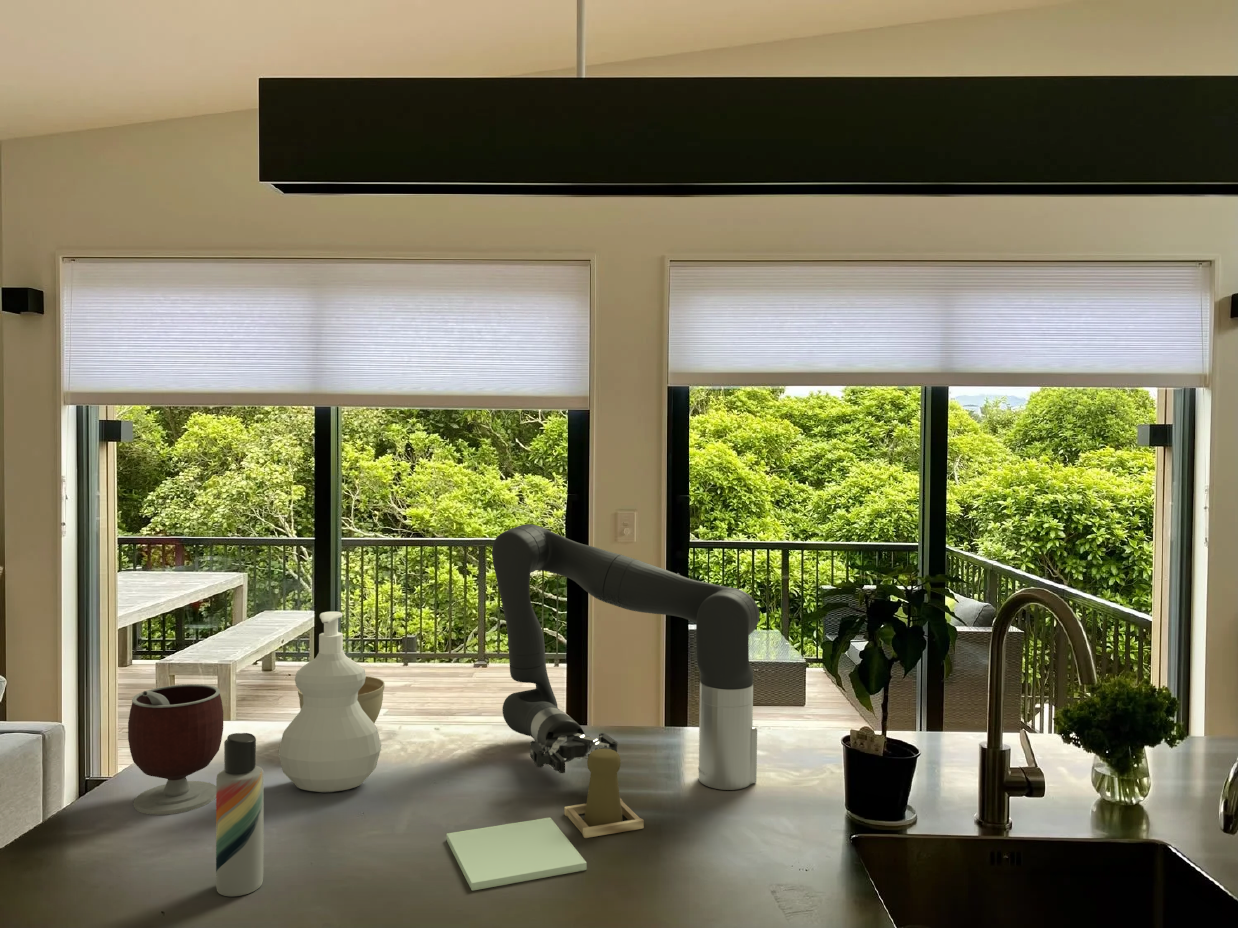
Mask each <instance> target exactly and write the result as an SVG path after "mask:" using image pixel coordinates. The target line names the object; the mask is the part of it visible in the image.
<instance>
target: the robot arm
mask: <svg viewBox="0 0 1238 928" xmlns="http://www.w3.org/2000/svg"><path fill="white" fill-rule="evenodd" d="M491 557H492V564H493V569H494V572H495V578H496V582H497V586H498V592H499V595H500V600H501V604H502V609H503V614H504V620H505V625H506V633H507V648H508V661H509V673H510V677H511V679H513V681H515V682H517V683H525V684H526V683H528V684H533V685H535V688H533V689H528V690H523V691H518V692H517V691H516V692H513V693H511V694H509V695H508V696H506V698H505V699H504V701H503V702H502V703H503V704H502V711H501V712H502V717H503V719H504V721H505V723H506V724H507V726H508V727H509V729H511V731H514V732H515V733H518V734H521V735H525V736H527V737H531V738H532V739H533V740H532V741H530V743H529V745H530V746H529V747H530V748H529V757H530V759H531V760H532V762H533V763H534V765H535V766H536V767H537V768H543V767H545V765H548V767H549V768H553V770H554V771H555V772H558V773H559V774H560V775H561V774H565V773H566V763H567V762H568V763H569V762H571V761H573V760H574V759H577V760H580V759H585V760H588V756H589V754H590V753H591V752H592V751H594V750H596V749H611V750H614V751H616V752H617V753H618V744H619V743H618V741H617V740H615V739H614V738H613V737H611V736H609V735H608V734H607V733H604V732H600V733H598V737H596V738H595V737H592V736H590V735H586V734H585V731H584V730H583V728H582V726H581V725H580V724H579V723H578V722H577V721H575V720H574V719H573V718H572V717H571V716H570V715H568V714H567V713H566V712H565V711H563V710H561V709H559V706H558V702H557V699H556V696H555V694H554V691H553V689H552V685H551V683H550V679H549V675H548V672H547V670H548V669H547V665H546V661H547V660H546V647H545V637H544V632H543V628H542V625H541V623H540V621H539V618H538V617H537V614H536V613H535V610H534V608H533V604H532V601H531V594H530V593H531V592H530V582H531V581H530V578H531V573H534V572H535V571H543V572H548V573H552V574H555V575H559V576H563V577H565V578H568V579H570V580H572V581H573V582H575V583H576V584H577V585H579V587H581V588H582V589H583V590H584V591H585V592H586V593H588V594H589V595H591V596H592V597H593V598H595V599H597V600H599V601H601V602H604V603H607V604H609V605H612V606H614V607H615V606H616V607H618V608H621V609H624V610H628V611H632V612H637V613H642V614H643V613H646V614H652V615H654V614H655V615H665V616H672V617H678V618H683V619H685V620H689V621H691V622H692V623H693V622H694V623H696V625H695V628H696V629H695V636H696V637H695V642H696V644H695V645H696V646H695V647H696V649H695V650H696V664H697V665H696V666H697V668H698V671H699V718H698V721H699V723H698V724H699V725H698V726H699V727H698V728H699V731H698V732H699V733H698V767H697V768H698V781H699V782H700V783H701V784H702V785H704V786H706V787H708V788H712V789H717V790H724V791H726V790H727V791H729V790H730V791H731V790H732V791H733V790H735V791H737V790H742V789H745V788H748V787H749V786H750V785H752V784H756V783H757V778H758V777H757V771H758V769H757V768H758V766H757V765H758V729H757V727H756V726H754V725H753V723H754V721H753V716H754V715H753V714H754V713H753V712H754V669H753V667H752V666H751V664H750V655H749V653H750V652H749V649H750V648H749V647H750V646H749V645H750V644H749V638H750V637H749V636H750V635H751V634H752V633H753V632H754V631H755V629H756V628H757V626H758V624H759V621H760V611H759V609H760V608H759V606H758V604H757V602H756V600H754V599H753V597H752V596H751V595H750V594H748V593H747V592H746V591H744V590H741V589H739V588H736V587H731V586H730V587H729V586H724V585H720V584H714V583H710V582H705V581H700V580H696V579H692V578H689V577H686V576H683V575H680V574H678V573H675V572H673V571H670V570H668V569H665V568H662V567H659V566H656V565H654V564H651V563H647V562H645V561H642V560H639V559H637V558H636V559H635V558H632V557H629V556H627V555H624V554H621V553H620V554H619V553H616V552H612V551H608V550H605V549H602V548H599V547H595V546H591V545H588V544H583V543H580V542H577V541H575V540H572V539H569V538H567V537H564V536H562V535H560V534H558V533H556V532H554V531H551V530H549V529H547V528H544V527H542V526H539V525H536V524H527V523H525V524H522V525H521V524H520V525H519V526H515V527H512V528H510V529H508V530H505V531H503V532H501V533H500V534H498V535H497V537H496V538H494V541H493V543H492V548H491ZM589 752H590V753H589Z"/></svg>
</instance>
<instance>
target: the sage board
mask: <svg viewBox="0 0 1238 928" xmlns="http://www.w3.org/2000/svg"><path fill="white" fill-rule="evenodd" d="M446 842H447V844H448V847H449V848H450V850H451V853H452V854H453V856H454V858H455V860H456V862H457V864H458V866H459V869H460V870H461V872H462V874H463V875H464V878H465V880H466V882H467V884H468V886H469V888H470V890H471V891H477V890H482V889H484V890H485V889H489V888H490V889H491V888H493V887H494V888H495V887H500V886H506V885H510V884H516V883H522V882H528V881H532V880H537V879H539V880H540V879H543V878H548V877H554V876H561V875H565V874H571V873H577V872H583V871H587V870H588V869H587V868H588V867H587V864H588V862H587V861H586V860H585V858H584V857H583V856H582V855H581V853H579V851H578V849H576V847H574V845H573V844H572V842H570V840H569V838H568V837H567V836H566V835H565V834H564V833H563V831H562V830H561V829H560V828H559V826H558V825H557V824H556V822H555V821H554V820H553V819H552V818H551V817H544V818H537V819H532V820H524V821H519V822H512V823H506V824H505V823H504V824H500V825H499V824H498V825H491V826H486V827H480V828H473V829H467V830H462V831H454V832H449V833H448V832H447V833H446Z"/></svg>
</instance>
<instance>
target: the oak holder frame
mask: <svg viewBox="0 0 1238 928" xmlns="http://www.w3.org/2000/svg"><path fill="white" fill-rule="evenodd" d="M620 803H621V811H622V816H624V817H625V818H626V819H627V820H624V821H623V822H617V823H611V824H604V825H598V826H592V827H589V826H588V825H587V824H586V823H585V822H584V819H583V818H582V817H581V816H580V815H582V814H584V815H585V810H586V803H580V804H574V805H567V806H564V807H563V809H564V810H563V812H564V814H563V815H564V816H565V817H567V818H568V819H569V820H570V821H571V822H572V823H573V825H574V826H575V827H576V828H577V830H579V832H580V833H581V834H582V837H583V838H584V839H588V838H589V839H590V838H593V837H598V836H605V835H611V834H612V835H613V834H617V833H622V832H623V833H624V832H629V831H636V830H642V829H644V825H645V822H644V819H643V818H640V817H639V816H638V815H637V814H636V813H635V812H634V811H633V810H632V809H631V808H630V807H629V806H628V805H627V804H626V803H625V802H624V801H623V799H622V798H621V797H620Z"/></svg>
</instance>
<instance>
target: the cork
mask: <svg viewBox="0 0 1238 928" xmlns="http://www.w3.org/2000/svg"><path fill="white" fill-rule="evenodd" d="M588 754H589V756H588V759H586V760H587V762H586V763H587V764H586V765H587V768H588V771H589V772H590V777H589V783H588V791H587V796H586V803H585V804H586V810H585V813H584V817H583V818H584V819H583V821H584V822H585V823H586V824H587V825H588V826H589V827H592V826H598V825H604V824H611V823H617V822H623V814H622V811H621V803H620V798H621V795H620V794H621V793H620V787H619V786H620V785H619V778H618V772H619V771H620V768H621V764H622V763H621V762H622V761H621V760H622V759H621V756H620V754H619V752H618V751H617V752H616V751H614V750H611V749H599V748H598V749H596V750H594V751H592V752H591V751H590V753H588Z"/></svg>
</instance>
